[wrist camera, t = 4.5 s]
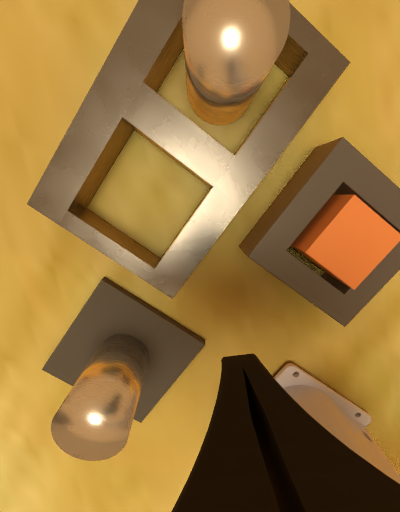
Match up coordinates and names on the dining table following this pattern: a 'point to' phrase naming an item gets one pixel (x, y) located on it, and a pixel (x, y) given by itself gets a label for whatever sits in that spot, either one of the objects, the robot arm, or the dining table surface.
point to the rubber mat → (131, 323)
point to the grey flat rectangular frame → (175, 139)
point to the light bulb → (230, 52)
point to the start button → (346, 239)
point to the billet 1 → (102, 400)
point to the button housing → (303, 211)
